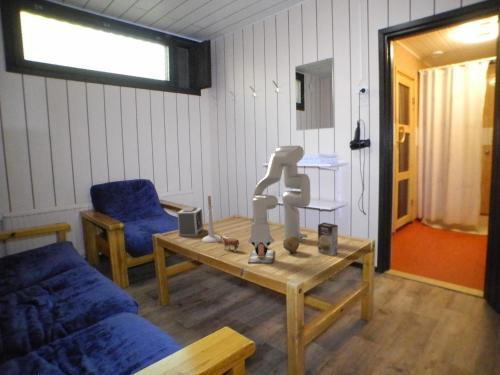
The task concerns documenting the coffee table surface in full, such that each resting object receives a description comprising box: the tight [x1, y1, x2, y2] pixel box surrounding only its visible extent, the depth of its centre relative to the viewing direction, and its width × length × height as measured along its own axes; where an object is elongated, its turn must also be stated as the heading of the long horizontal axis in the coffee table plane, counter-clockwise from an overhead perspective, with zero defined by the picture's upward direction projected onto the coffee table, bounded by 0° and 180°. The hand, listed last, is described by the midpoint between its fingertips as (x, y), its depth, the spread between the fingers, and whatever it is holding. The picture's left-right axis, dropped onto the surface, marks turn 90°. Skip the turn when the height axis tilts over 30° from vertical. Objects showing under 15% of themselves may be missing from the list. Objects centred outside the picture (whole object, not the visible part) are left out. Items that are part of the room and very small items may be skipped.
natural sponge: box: [282, 235, 300, 254], centre depth 171 cm, size 9×9×10 cm
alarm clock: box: [177, 207, 204, 237], centre depth 222 cm, size 18×13×18 cm
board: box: [247, 249, 275, 264], centre depth 167 cm, size 13×18×1 cm
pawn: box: [257, 242, 266, 258], centre depth 164 cm, size 5×5×8 cm
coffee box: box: [317, 222, 339, 257], centre depth 168 cm, size 9×6×16 cm
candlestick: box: [201, 195, 222, 244], centre depth 201 cm, size 13×13×30 cm
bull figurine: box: [220, 234, 240, 253], centre depth 181 cm, size 4×13×8 cm, turn 51°
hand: (261, 253), depth 164 cm, fingers closed on pawn, 3 cm apart
